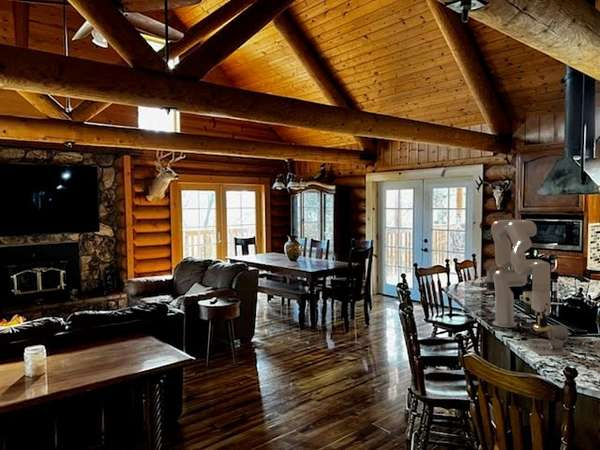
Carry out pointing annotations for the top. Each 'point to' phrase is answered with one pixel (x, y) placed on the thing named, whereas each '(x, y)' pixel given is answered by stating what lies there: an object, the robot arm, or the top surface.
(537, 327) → the brass door knob
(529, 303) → the character mug
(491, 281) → the milk frother
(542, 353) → the carrier
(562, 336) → the ceramic mug
